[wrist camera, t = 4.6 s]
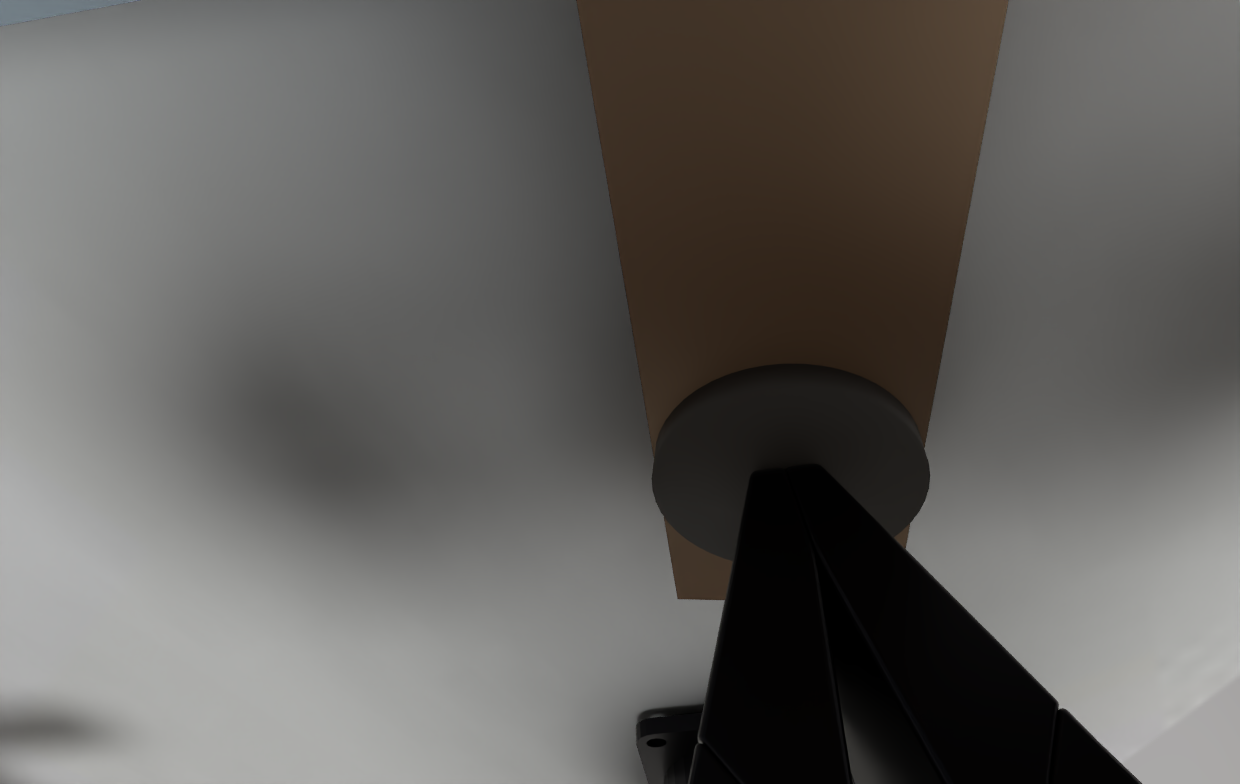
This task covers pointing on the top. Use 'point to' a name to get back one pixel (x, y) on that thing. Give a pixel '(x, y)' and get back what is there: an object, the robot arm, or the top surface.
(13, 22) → the open container
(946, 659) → the robot arm
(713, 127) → the lever
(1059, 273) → the top surface
